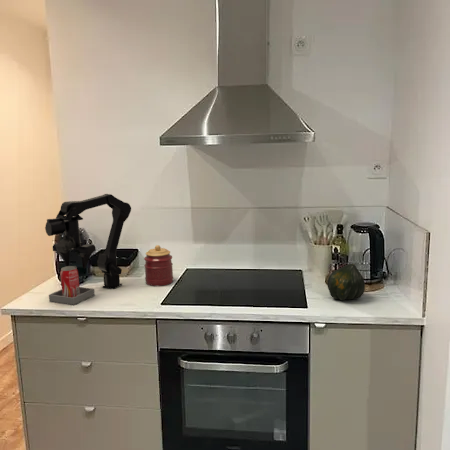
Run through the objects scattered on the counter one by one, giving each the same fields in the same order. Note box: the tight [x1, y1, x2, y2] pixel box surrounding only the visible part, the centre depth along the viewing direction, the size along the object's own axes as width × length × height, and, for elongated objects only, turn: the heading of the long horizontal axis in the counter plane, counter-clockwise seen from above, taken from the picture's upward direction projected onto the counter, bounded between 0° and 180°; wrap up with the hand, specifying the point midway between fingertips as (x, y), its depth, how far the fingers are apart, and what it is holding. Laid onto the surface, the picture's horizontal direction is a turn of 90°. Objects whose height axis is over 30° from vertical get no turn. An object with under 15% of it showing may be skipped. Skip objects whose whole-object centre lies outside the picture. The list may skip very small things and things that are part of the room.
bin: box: [48, 286, 95, 306], centre depth 202 cm, size 13×13×3 cm
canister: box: [143, 244, 174, 287], centre depth 220 cm, size 13×13×18 cm
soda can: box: [59, 265, 81, 298], centre depth 201 cm, size 7×7×13 cm
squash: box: [327, 263, 366, 301], centre depth 193 cm, size 14×15×15 cm
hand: (75, 267), depth 203 cm, fingers open, 9 cm apart
